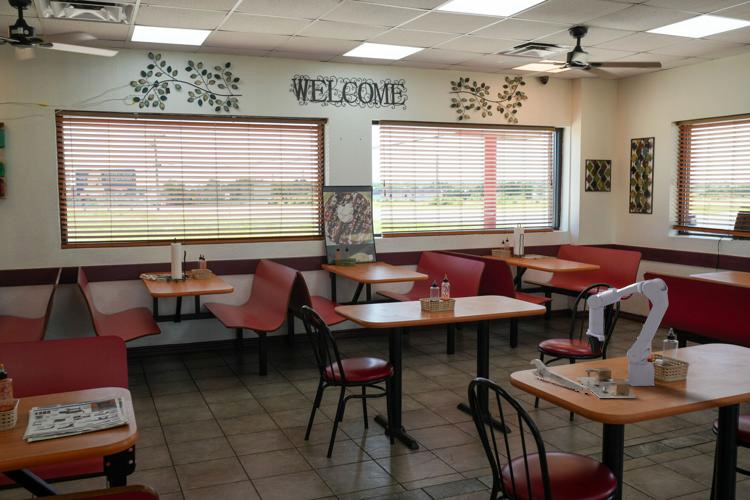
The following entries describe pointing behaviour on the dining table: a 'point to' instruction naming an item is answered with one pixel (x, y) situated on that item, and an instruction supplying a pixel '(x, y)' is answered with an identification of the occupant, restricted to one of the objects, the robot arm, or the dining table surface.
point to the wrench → (556, 376)
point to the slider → (599, 373)
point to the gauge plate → (607, 387)
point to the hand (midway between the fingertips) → (595, 353)
